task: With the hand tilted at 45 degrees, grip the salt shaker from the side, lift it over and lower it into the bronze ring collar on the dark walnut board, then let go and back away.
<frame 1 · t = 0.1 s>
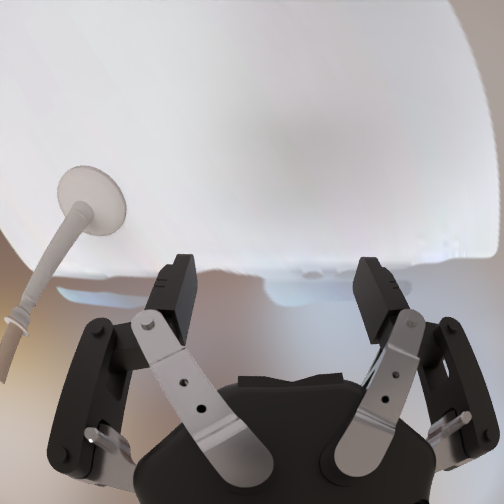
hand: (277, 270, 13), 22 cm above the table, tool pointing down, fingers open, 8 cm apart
candlestick: (91, 201, 36), on the table
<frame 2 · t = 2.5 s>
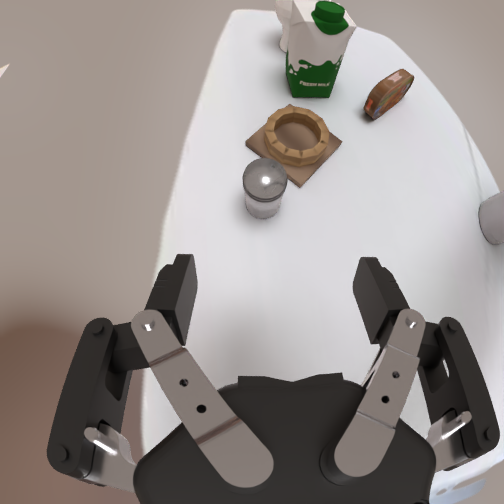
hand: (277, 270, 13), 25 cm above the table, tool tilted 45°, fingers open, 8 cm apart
milk carton: (307, 84, 43), on the table
salt shaker: (263, 202, 39), on the table
cup: (297, 47, 45), on the table
ring board: (294, 144, 41), on the table
tin: (381, 105, 43), on the table
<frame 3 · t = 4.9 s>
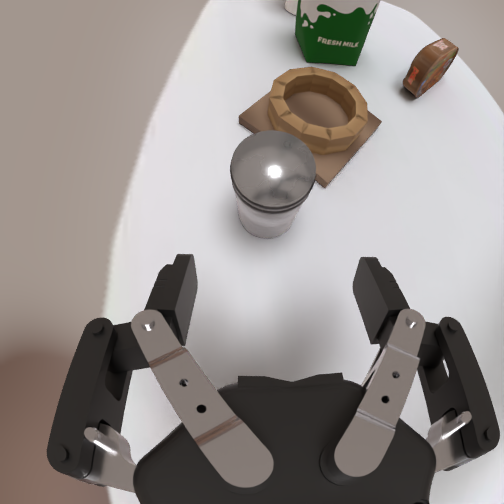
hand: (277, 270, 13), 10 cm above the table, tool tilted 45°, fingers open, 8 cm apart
milk carton: (324, 49, 29), on the table
salt shaker: (266, 211, 24), on the table
cup: (307, 10, 31), on the table
ring board: (313, 122, 26), on the table
tin: (420, 82, 28), on the table
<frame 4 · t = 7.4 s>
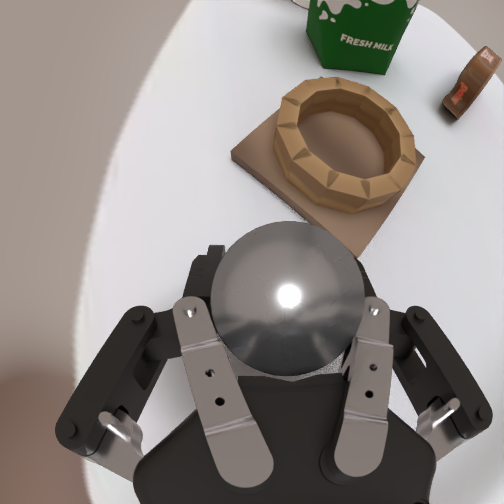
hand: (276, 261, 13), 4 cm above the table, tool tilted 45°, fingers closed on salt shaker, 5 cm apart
milk carton: (344, 51, 22), on the table
salt shaker: (270, 298, 17), on the table, touching gripper
cup: (318, 3, 24), on the table
ring board: (336, 157, 19), on the table
tin: (457, 98, 21), on the table
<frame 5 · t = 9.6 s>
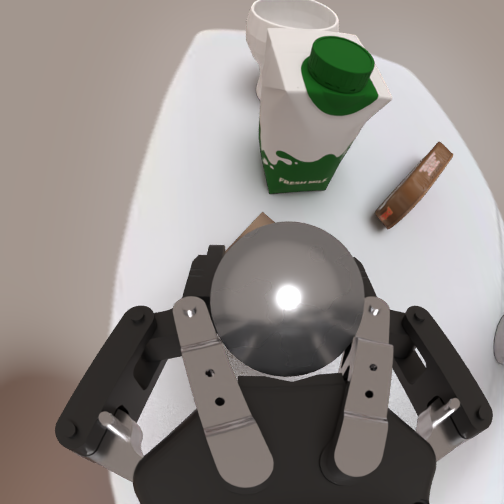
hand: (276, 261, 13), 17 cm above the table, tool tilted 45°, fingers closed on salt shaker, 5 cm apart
milk carton: (292, 166, 33), on the table
salt shaker: (270, 298, 17), point 12 cm above the table, touching gripper
cup: (282, 93, 35), on the table
tin: (400, 194, 32), on the table
when the fingers open (7 cm above the table, at t = 12.2 s): salt shaker drops 1 cm, resting on ring board.
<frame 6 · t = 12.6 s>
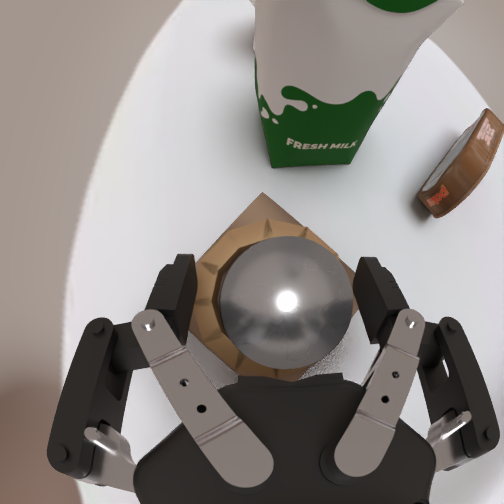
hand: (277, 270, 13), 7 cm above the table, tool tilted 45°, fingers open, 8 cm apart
milk carton: (304, 132, 22), on the table
salt shaker: (271, 300, 19), point 1 cm above the table, touching ring board
ring board: (268, 298, 20), on the table
tin: (442, 174, 22), on the table
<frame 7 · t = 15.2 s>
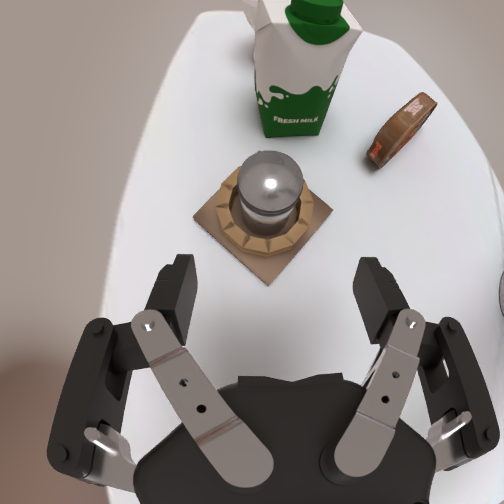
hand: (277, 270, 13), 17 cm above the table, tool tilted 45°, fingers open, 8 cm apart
milk carton: (287, 115, 33), on the table
salt shaker: (265, 213, 29), point 1 cm above the table, touching ring board
cup: (277, 59, 35), on the table
ring board: (263, 215, 30), on the table
tin: (391, 142, 33), on the table
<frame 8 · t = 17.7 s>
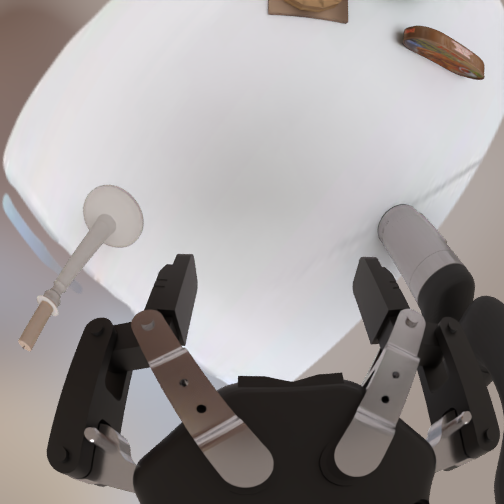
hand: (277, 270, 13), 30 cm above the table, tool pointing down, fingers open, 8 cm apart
candlestick: (112, 216, 45), on the table
tin: (431, 52, 26), on the table
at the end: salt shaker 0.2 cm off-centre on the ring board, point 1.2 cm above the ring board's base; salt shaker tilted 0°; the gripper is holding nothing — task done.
